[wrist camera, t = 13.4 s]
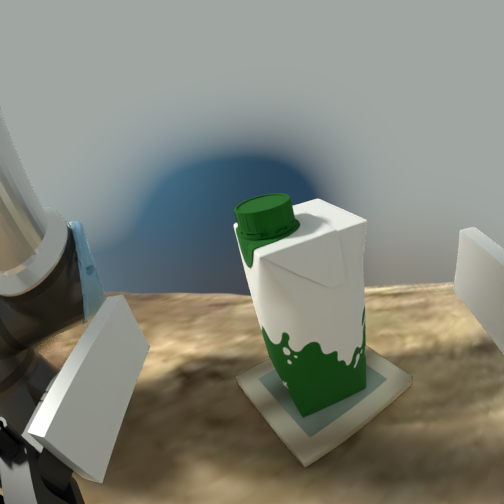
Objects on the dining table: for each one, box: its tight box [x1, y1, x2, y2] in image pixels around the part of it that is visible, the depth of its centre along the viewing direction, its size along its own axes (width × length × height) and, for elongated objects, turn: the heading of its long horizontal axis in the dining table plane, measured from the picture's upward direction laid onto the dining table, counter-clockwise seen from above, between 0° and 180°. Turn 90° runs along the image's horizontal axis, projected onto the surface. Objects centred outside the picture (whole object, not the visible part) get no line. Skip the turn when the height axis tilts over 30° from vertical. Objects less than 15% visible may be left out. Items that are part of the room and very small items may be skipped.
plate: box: [235, 346, 413, 468], centre depth 29 cm, size 14×14×1 cm
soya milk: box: [234, 193, 367, 418], centre depth 25 cm, size 9×9×20 cm
